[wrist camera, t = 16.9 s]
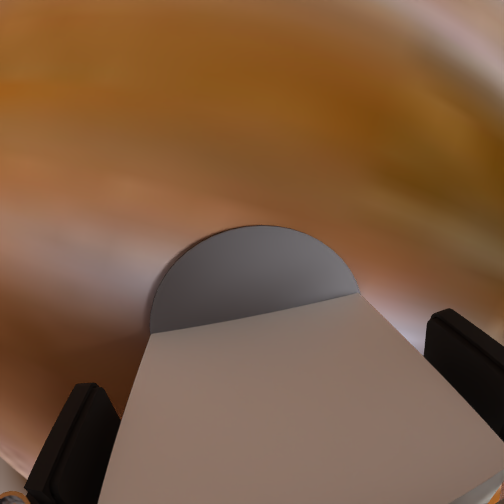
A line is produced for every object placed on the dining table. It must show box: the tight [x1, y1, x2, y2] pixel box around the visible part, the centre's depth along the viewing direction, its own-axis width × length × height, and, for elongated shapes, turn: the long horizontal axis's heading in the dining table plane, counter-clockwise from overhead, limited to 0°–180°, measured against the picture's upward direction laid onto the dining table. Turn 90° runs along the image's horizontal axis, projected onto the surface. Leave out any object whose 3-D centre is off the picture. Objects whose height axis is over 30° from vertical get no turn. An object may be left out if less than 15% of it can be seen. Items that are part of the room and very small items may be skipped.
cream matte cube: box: [98, 293, 504, 504], centre depth 8 cm, size 8×8×9 cm
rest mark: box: [150, 225, 361, 336], centre depth 12 cm, size 8×8×1 cm
